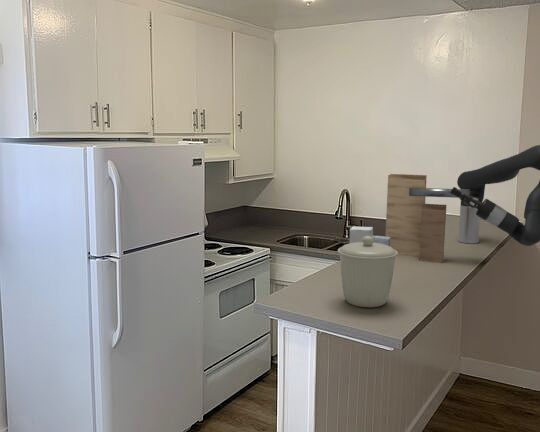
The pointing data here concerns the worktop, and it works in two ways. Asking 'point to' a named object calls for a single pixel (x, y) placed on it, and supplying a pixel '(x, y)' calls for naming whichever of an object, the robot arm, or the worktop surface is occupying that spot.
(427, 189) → the pin
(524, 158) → the robot arm
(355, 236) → the skincare box
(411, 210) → the stand
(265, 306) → the worktop surface
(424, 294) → the worktop surface
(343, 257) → the canister
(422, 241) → the tall wooden post
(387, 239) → the medicine box
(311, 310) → the worktop surface
